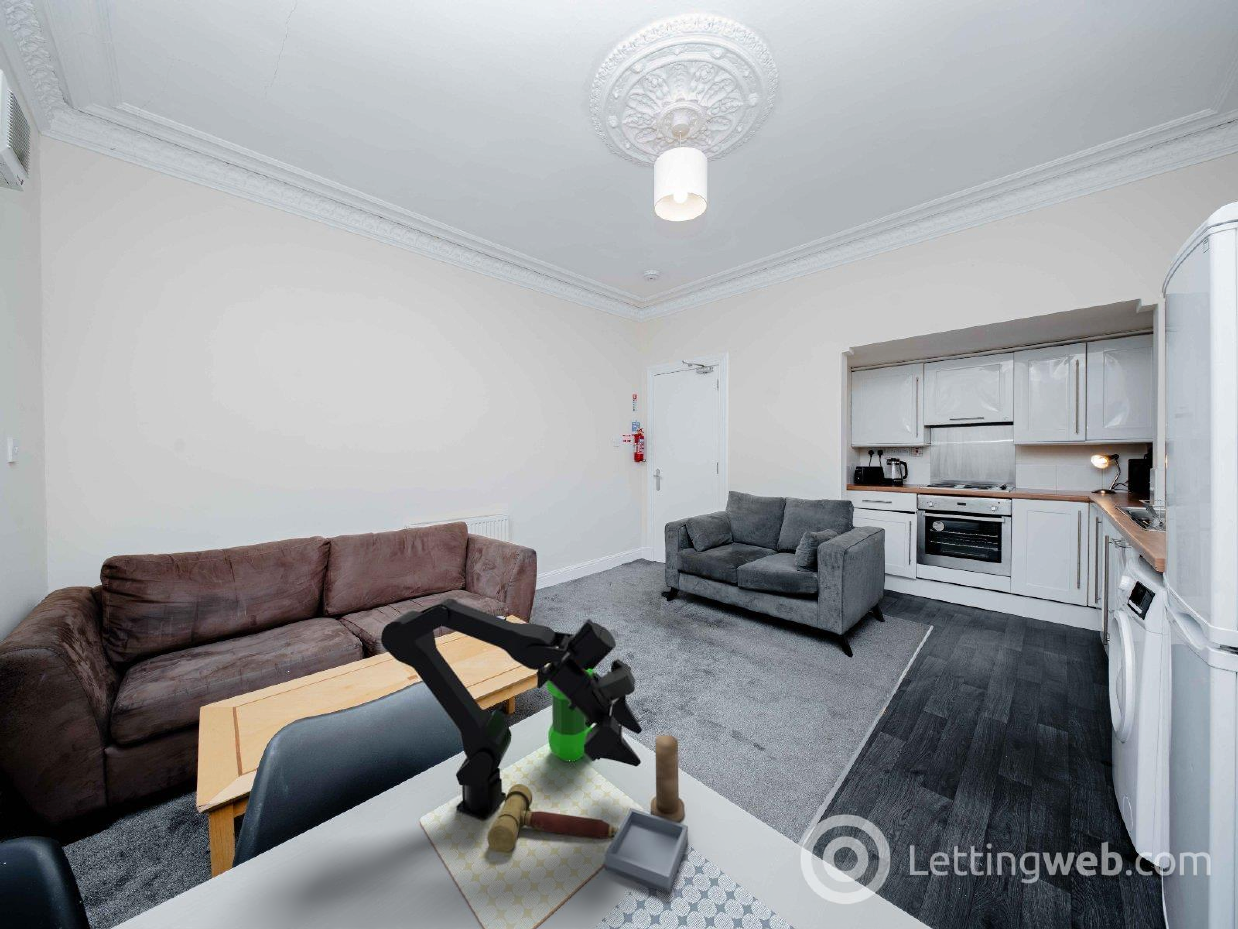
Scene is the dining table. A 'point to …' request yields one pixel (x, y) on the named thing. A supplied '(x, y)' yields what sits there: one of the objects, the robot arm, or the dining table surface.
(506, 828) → the gavel
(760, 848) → the dining table surface
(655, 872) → the box
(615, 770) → the dining table surface
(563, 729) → the plastic bottle
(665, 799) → the walnut handle
